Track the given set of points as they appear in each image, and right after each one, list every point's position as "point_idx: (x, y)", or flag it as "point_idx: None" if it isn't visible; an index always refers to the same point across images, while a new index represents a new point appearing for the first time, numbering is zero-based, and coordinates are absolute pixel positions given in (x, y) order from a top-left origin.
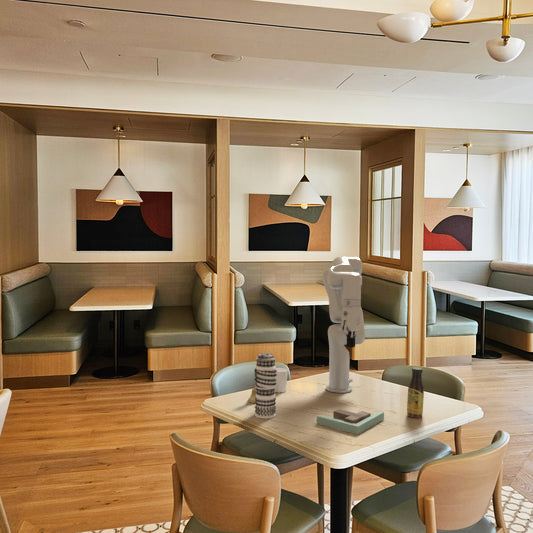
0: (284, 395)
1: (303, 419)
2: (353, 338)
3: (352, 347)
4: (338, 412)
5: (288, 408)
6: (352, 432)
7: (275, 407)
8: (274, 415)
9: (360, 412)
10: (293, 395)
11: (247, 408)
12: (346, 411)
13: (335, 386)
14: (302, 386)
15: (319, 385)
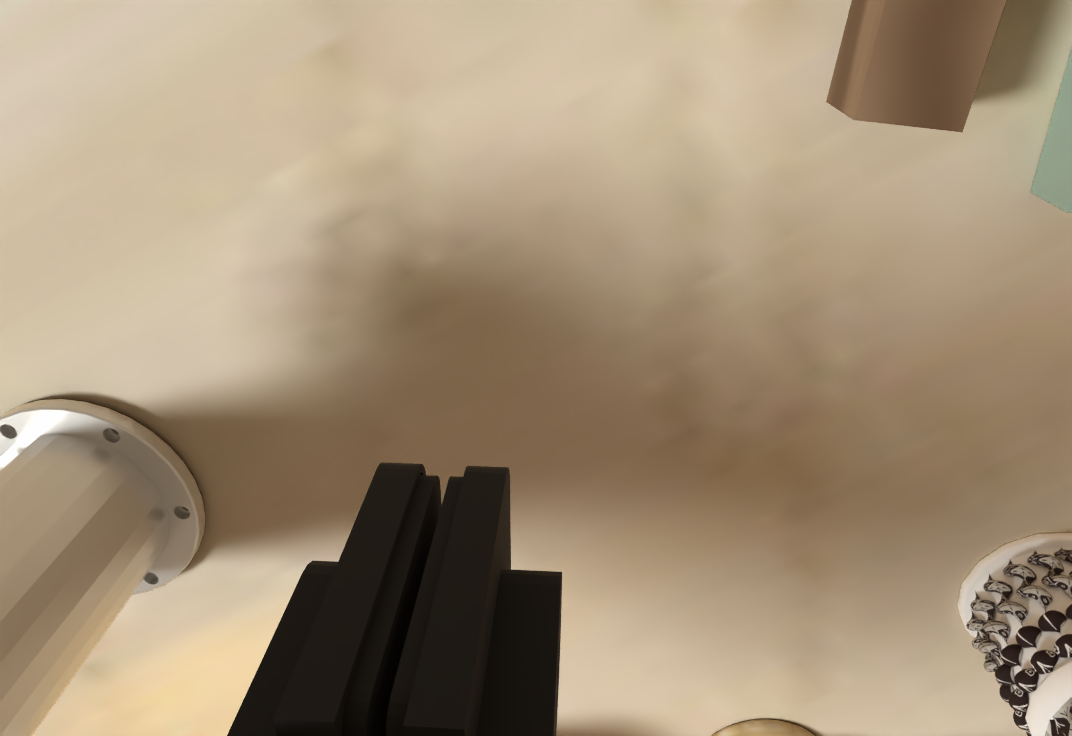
0: None
1: (1009, 339)
2: (463, 712)
3: (508, 483)
4: (984, 62)
5: (802, 550)
6: None
7: (1037, 585)
8: (1047, 539)
9: None
10: None
11: (954, 731)
12: (909, 4)
13: (150, 516)
14: None
15: (134, 643)
